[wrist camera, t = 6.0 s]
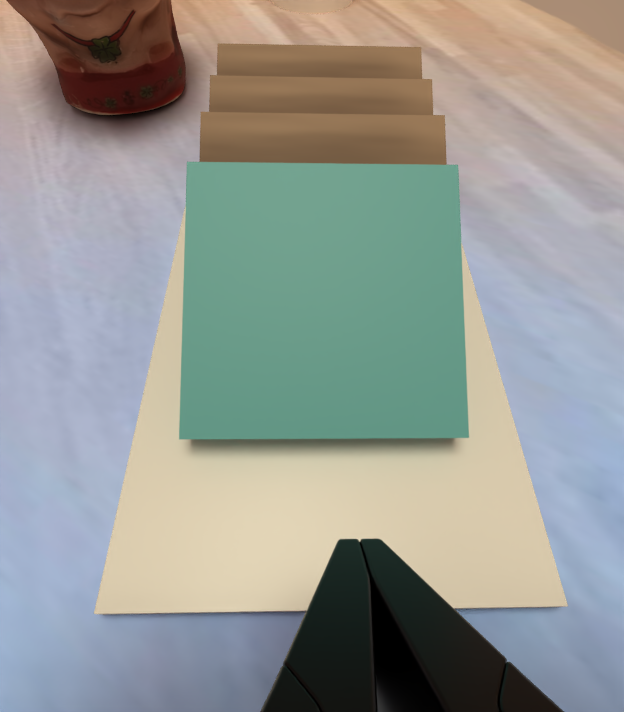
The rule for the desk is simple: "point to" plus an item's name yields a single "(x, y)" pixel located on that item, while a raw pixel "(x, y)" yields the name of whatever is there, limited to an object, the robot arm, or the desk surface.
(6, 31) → the desk surface
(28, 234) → the desk surface
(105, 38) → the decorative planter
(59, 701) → the desk surface
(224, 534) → the board
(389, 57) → the domino
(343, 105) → the brown flat square block
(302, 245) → the domino
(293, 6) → the base with upright slab
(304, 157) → the domino
